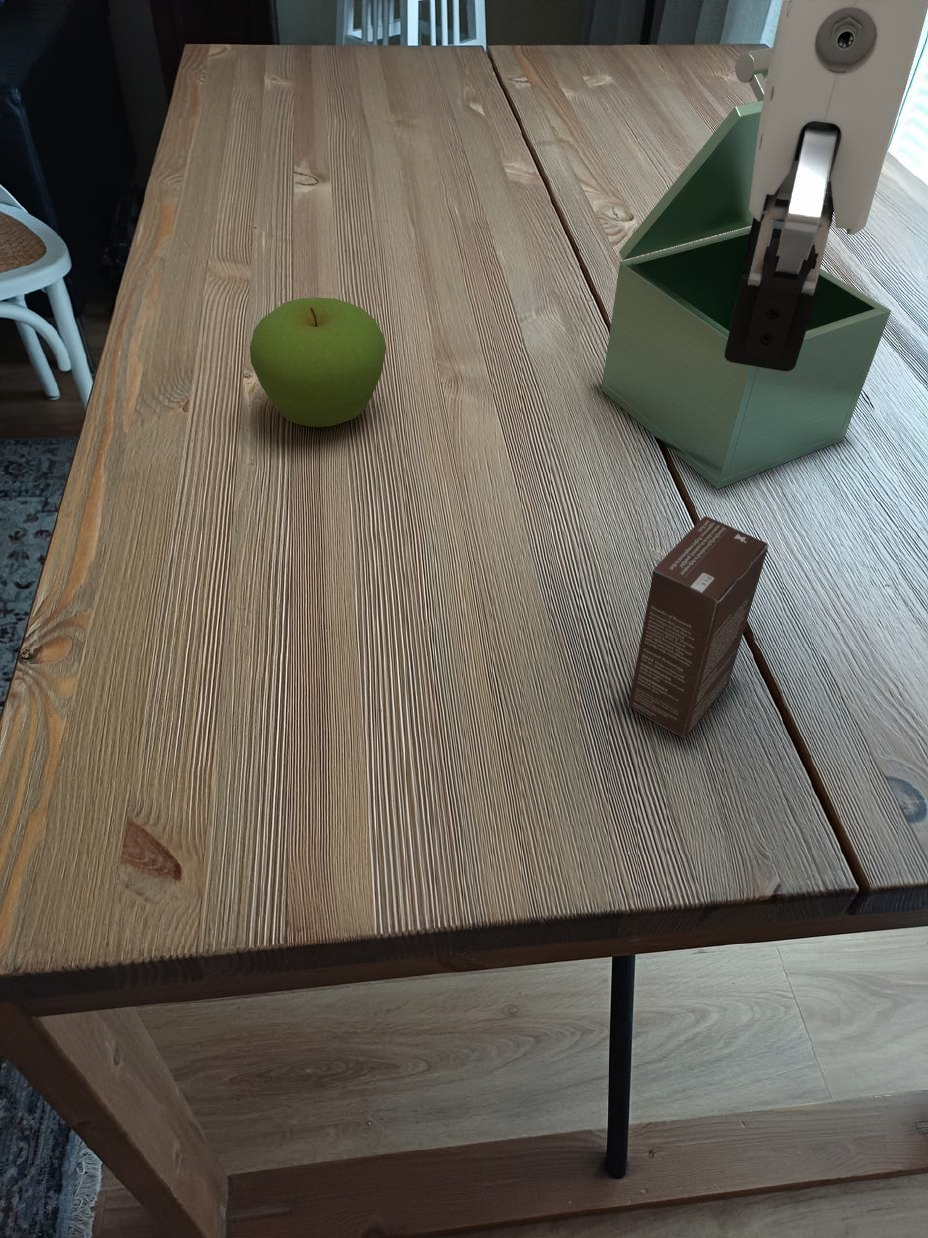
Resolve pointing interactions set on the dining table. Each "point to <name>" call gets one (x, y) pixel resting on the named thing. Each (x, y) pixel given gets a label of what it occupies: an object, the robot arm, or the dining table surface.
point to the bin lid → (711, 177)
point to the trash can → (721, 390)
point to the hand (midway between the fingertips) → (766, 312)
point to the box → (695, 623)
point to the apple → (318, 360)
